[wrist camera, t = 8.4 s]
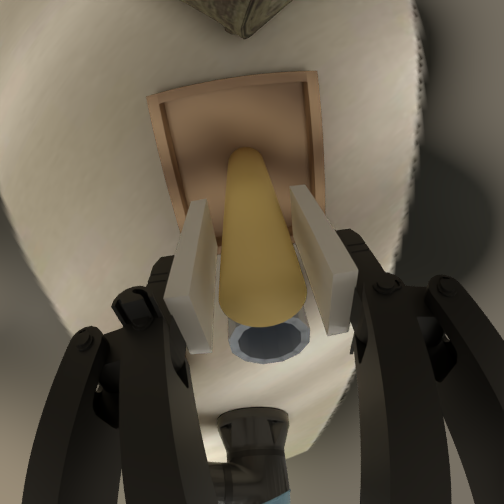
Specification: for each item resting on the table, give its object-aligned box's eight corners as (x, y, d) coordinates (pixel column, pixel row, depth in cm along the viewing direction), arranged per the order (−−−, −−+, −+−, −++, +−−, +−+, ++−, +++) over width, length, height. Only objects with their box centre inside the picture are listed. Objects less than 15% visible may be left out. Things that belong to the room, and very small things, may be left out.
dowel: (265, 177, 22) (306, 320, 9) (231, 182, 22) (227, 331, 9) (261, 144, 20) (306, 256, 8) (225, 149, 20) (209, 270, 8)
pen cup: (296, 308, 31) (308, 356, 26) (235, 316, 32) (237, 367, 26) (294, 258, 27) (310, 308, 22) (223, 268, 28) (222, 321, 22)
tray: (317, 225, 25) (325, 238, 23) (191, 244, 26) (188, 258, 24) (308, 72, 18) (317, 70, 16) (155, 95, 18) (146, 96, 16)
